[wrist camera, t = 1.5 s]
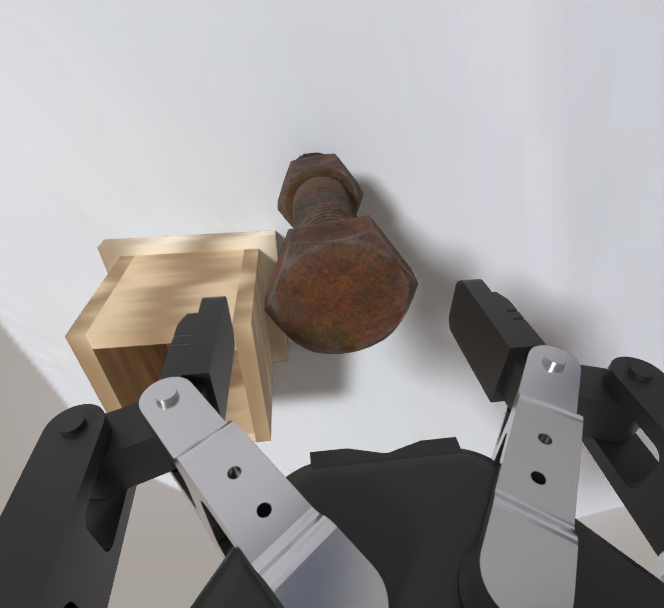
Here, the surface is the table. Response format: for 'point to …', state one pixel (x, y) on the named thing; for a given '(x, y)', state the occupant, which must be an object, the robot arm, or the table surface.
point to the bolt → (334, 264)
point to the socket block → (181, 317)
